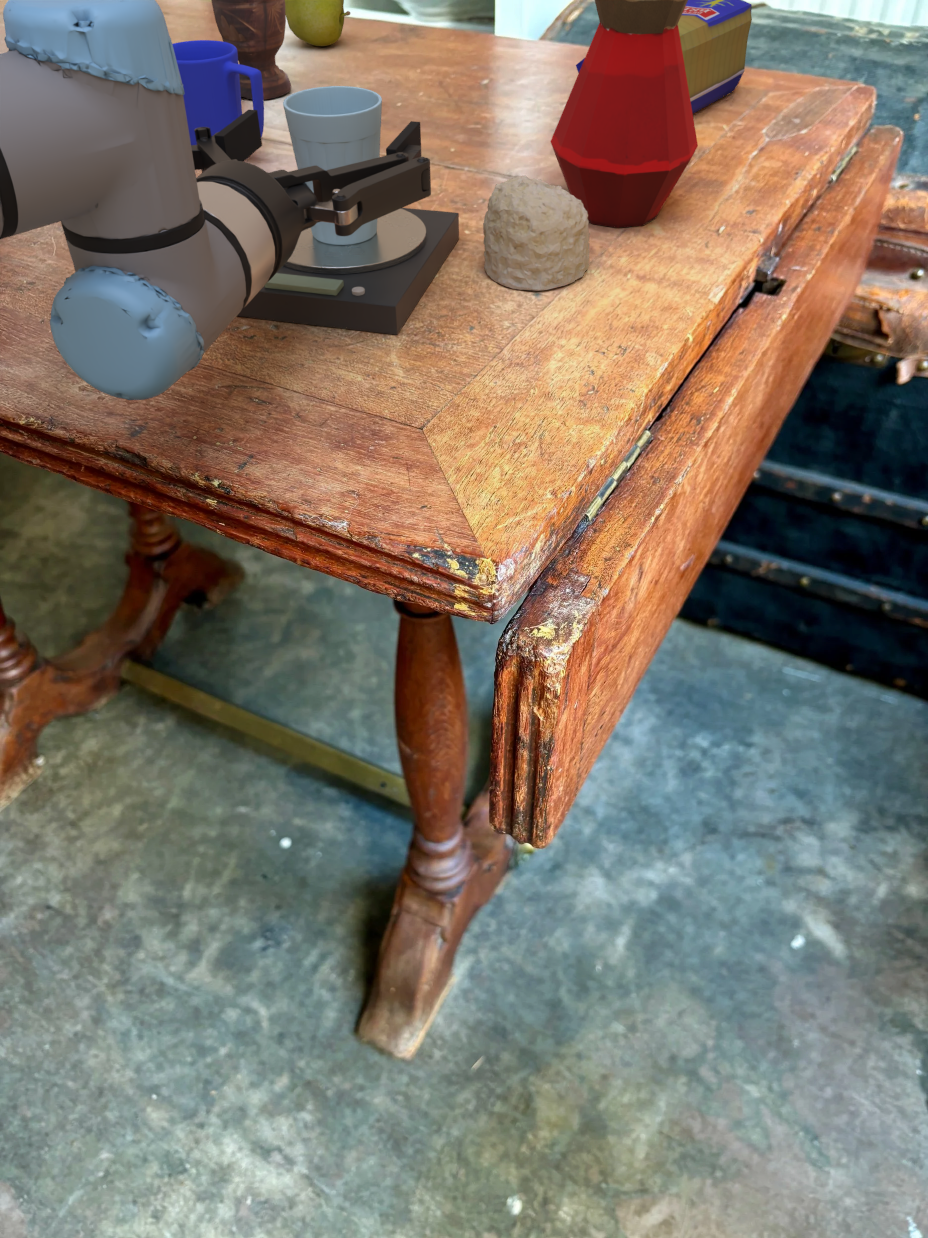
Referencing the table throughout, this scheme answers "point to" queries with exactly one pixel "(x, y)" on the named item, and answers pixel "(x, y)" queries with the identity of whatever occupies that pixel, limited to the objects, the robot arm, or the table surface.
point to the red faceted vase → (628, 115)
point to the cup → (335, 139)
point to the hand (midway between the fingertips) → (334, 133)
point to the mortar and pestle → (255, 40)
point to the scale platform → (362, 248)
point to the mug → (214, 85)
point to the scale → (359, 287)
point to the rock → (535, 235)
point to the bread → (712, 47)
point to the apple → (316, 20)
